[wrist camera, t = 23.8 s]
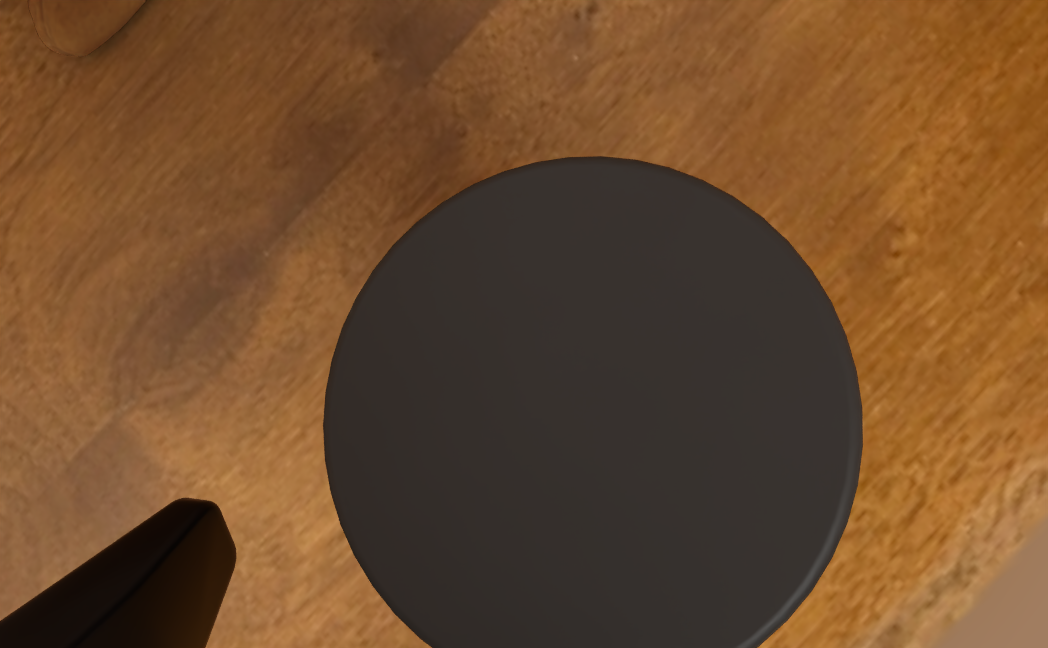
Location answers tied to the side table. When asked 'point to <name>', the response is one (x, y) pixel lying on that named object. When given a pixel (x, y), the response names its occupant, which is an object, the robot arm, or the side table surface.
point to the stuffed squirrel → (80, 22)
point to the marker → (593, 416)
